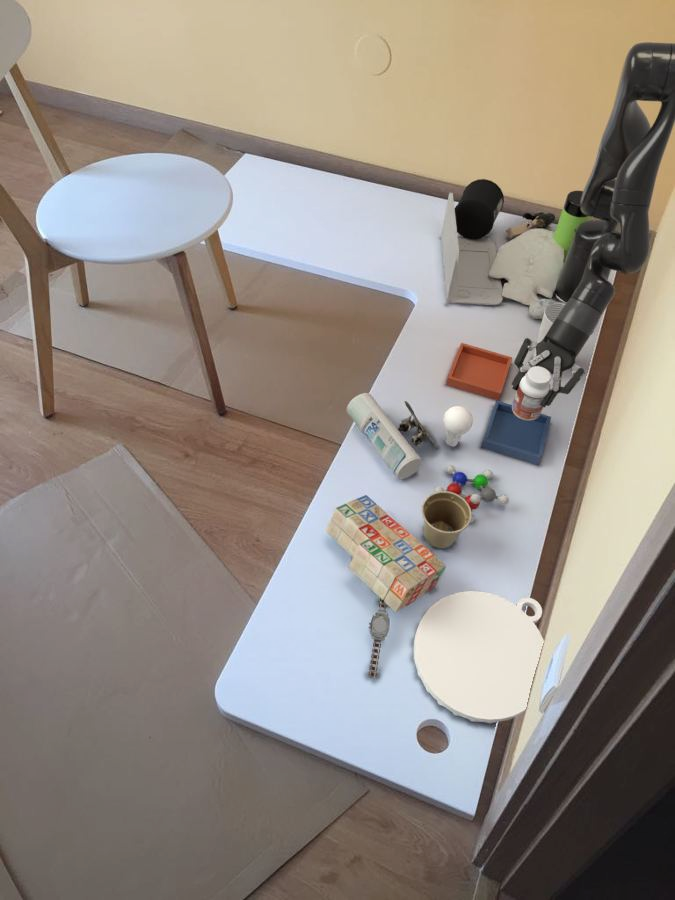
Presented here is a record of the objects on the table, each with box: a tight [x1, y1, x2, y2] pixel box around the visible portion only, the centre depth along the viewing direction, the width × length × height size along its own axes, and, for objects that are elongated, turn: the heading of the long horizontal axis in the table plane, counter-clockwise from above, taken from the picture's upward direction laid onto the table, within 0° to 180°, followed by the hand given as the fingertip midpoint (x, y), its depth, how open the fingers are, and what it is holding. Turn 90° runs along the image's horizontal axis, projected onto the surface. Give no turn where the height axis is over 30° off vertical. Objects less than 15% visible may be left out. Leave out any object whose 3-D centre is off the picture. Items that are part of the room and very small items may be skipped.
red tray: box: [445, 342, 513, 401], centre depth 173 cm, size 13×13×2 cm
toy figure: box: [505, 211, 556, 239], centre depth 208 cm, size 7×6×15 cm
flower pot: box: [421, 491, 473, 549], centre depth 143 cm, size 9×9×9 cm
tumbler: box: [554, 190, 591, 262], centre depth 198 cm, size 8×8×17 cm
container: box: [454, 178, 505, 239], centre depth 206 cm, size 12×12×18 cm
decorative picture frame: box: [397, 400, 439, 450], centre depth 158 cm, size 12×6×11 cm
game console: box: [440, 192, 504, 306], centre depth 192 cm, size 28×15×15 cm, turn 178°
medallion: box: [413, 590, 545, 725], centre depth 131 cm, size 24×27×2 cm
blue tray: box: [480, 400, 552, 466], centre depth 162 cm, size 13×13×2 cm
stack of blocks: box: [325, 494, 447, 613], centre depth 137 cm, size 21×6×12 cm
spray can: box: [346, 392, 423, 480], centre depth 157 cm, size 6×6×20 cm
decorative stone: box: [528, 298, 562, 320], centre depth 185 cm, size 13×7×5 cm, turn 79°
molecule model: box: [433, 464, 510, 524], centre depth 151 cm, size 15×7×14 cm
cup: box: [532, 301, 566, 367], centre depth 172 cm, size 8×8×16 cm
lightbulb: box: [442, 405, 474, 447], centre depth 157 cm, size 6×6×11 cm
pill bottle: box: [511, 366, 552, 421], centre depth 152 cm, size 6×6×11 cm
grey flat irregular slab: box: [489, 228, 565, 307], centre depth 197 cm, size 18×5×30 cm
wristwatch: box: [368, 597, 391, 678], centre depth 132 cm, size 4×14×5 cm, turn 170°
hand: (528, 397), depth 152 cm, fingers closed on pill bottle, 6 cm apart
